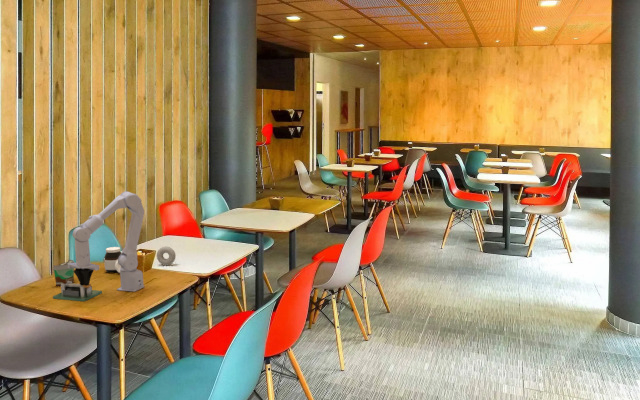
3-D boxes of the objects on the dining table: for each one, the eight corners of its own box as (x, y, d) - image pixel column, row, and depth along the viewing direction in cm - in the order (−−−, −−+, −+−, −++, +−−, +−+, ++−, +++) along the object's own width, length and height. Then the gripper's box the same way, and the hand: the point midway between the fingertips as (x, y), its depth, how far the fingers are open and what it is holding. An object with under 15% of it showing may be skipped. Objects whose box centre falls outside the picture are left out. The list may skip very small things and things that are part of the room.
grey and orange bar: (63, 286, 262) (63, 284, 262) (67, 285, 264) (67, 282, 264) (87, 288, 258) (87, 285, 258) (91, 286, 261) (90, 283, 261)
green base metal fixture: (53, 298, 258) (52, 286, 258) (71, 290, 270) (70, 278, 269) (84, 301, 254) (83, 288, 253) (102, 293, 265) (101, 280, 265)
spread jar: (110, 268, 307) (109, 246, 305) (132, 268, 307) (131, 246, 305) (101, 274, 295) (99, 251, 293) (124, 274, 295) (122, 251, 293)
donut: (176, 264, 313) (176, 245, 312) (174, 266, 310) (174, 247, 309) (158, 264, 314) (157, 245, 313) (156, 265, 311) (155, 247, 309)
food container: (66, 287, 274) (64, 266, 273) (54, 286, 276) (52, 265, 274) (81, 280, 286) (80, 259, 285) (70, 279, 287) (68, 259, 286)
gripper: (62, 255, 256) (64, 286, 258) (91, 257, 252) (93, 288, 254) (73, 252, 263) (75, 281, 265) (101, 254, 259) (103, 284, 261)
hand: (84, 285), depth 260 cm, fingers closed on grey and orange bar, 2 cm apart
